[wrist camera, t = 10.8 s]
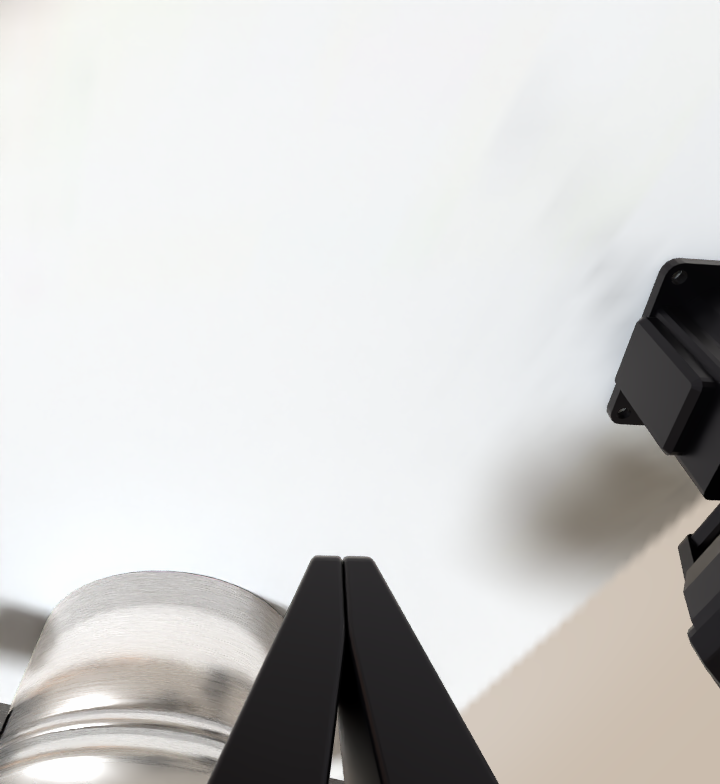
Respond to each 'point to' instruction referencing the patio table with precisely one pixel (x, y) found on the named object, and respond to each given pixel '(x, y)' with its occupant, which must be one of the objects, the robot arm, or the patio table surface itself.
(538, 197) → the patio table surface
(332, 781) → the cooker pot
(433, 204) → the patio table surface
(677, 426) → the robot arm
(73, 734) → the cooker lid
